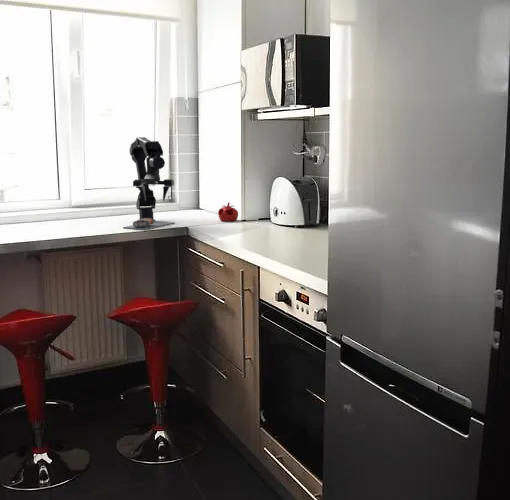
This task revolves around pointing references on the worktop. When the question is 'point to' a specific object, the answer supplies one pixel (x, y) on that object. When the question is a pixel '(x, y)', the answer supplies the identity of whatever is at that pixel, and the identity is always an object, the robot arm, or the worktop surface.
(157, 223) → the mat
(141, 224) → the lighter
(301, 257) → the worktop surface
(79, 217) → the worktop surface
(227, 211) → the pomegranate
